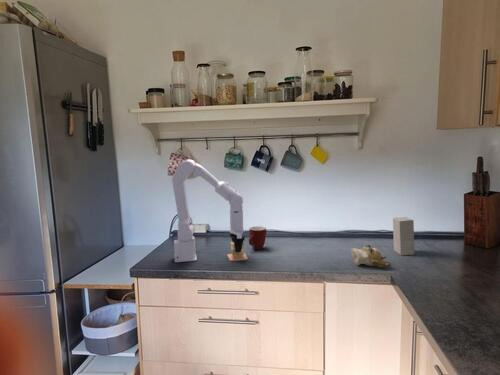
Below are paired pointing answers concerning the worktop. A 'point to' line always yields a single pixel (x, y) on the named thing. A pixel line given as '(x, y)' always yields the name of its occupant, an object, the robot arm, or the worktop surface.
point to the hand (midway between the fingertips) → (237, 250)
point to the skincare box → (403, 235)
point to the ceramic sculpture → (368, 257)
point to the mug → (257, 237)
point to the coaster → (237, 257)
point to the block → (235, 251)
